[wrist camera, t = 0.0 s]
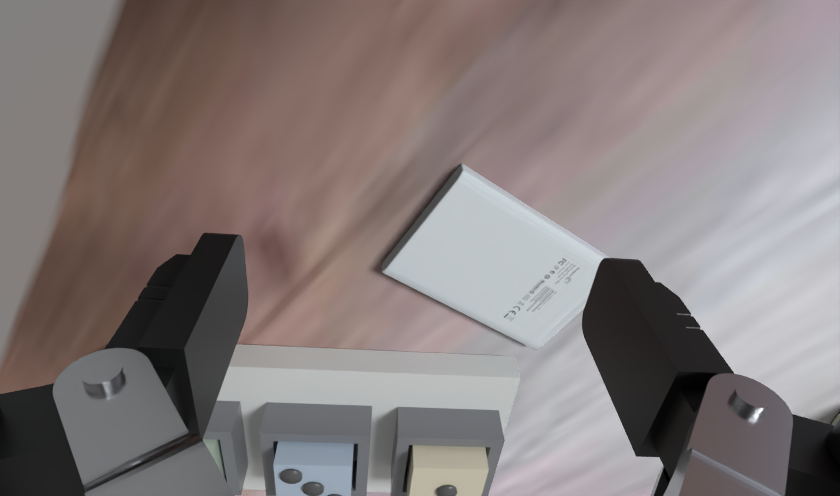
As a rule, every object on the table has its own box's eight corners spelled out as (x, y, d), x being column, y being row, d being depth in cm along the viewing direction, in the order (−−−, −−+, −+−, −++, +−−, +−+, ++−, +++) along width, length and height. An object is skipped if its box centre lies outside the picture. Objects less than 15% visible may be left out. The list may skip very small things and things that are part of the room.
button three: (280, 431, 37) (272, 467, 34) (354, 433, 37) (351, 469, 35) (283, 474, 39) (276, 510, 37) (352, 475, 40) (349, 511, 38)
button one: (412, 435, 37) (413, 470, 35) (483, 437, 38) (489, 472, 36) (406, 477, 40) (407, 512, 38) (472, 478, 41) (477, 513, 38)
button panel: (118, 339, 36) (86, 392, 32) (515, 356, 38) (528, 407, 35) (155, 464, 44) (133, 518, 40) (483, 472, 46) (490, 524, 42)
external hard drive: (460, 158, 30) (616, 258, 34) (381, 259, 34) (531, 337, 38) (463, 171, 29) (625, 273, 33) (380, 274, 32) (536, 354, 37)
